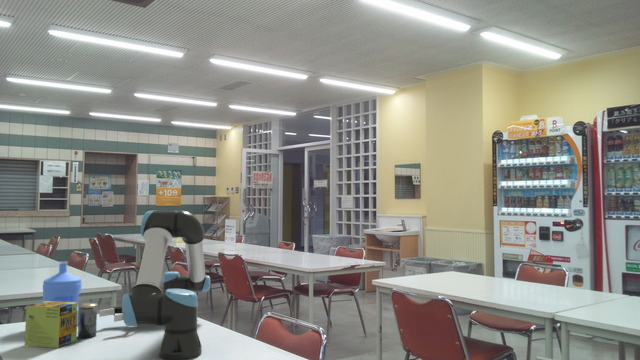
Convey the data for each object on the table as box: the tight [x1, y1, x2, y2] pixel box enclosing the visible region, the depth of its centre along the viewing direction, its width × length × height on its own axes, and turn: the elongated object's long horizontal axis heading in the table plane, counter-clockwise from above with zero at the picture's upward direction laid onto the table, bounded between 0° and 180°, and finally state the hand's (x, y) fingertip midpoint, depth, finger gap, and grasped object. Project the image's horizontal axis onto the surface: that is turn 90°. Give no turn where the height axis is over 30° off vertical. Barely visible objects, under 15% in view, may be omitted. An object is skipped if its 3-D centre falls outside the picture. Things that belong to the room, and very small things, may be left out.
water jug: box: [42, 262, 83, 327], centre depth 223 cm, size 16×16×28 cm
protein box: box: [24, 301, 79, 349], centre depth 195 cm, size 10×15×16 cm
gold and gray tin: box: [77, 302, 98, 340], centre depth 206 cm, size 7×7×13 cm
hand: (106, 315), depth 212 cm, fingers open, 13 cm apart
